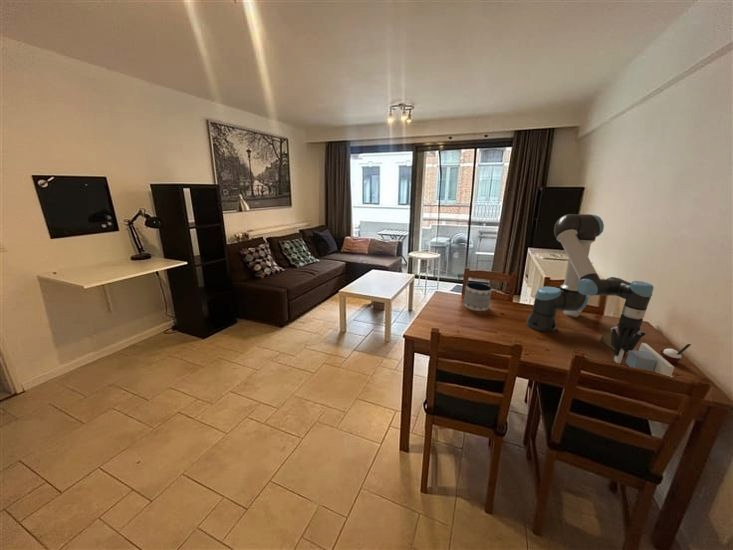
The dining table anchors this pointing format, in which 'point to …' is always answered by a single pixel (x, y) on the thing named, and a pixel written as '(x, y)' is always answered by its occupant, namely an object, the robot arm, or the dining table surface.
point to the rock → (608, 339)
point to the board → (658, 361)
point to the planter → (477, 296)
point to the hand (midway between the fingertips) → (617, 361)
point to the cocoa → (673, 354)
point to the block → (641, 360)
